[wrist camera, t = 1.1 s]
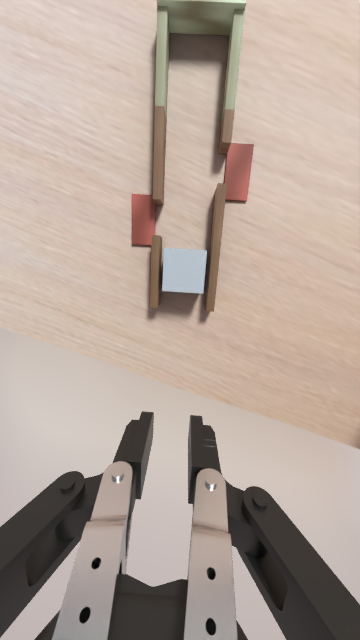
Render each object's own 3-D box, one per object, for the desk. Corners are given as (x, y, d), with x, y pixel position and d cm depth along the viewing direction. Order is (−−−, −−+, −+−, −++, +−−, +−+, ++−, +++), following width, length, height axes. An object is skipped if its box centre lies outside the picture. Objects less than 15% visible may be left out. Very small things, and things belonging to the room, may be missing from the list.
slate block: (204, 252, 29) (207, 250, 25) (200, 289, 30) (203, 293, 26) (167, 250, 29) (163, 247, 25) (165, 287, 30) (162, 291, 26)
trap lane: (268, 24, 23) (279, -10, 20) (232, 309, 31) (237, 313, 28) (133, 19, 23) (125, -17, 20) (132, 302, 31) (126, 306, 28)
